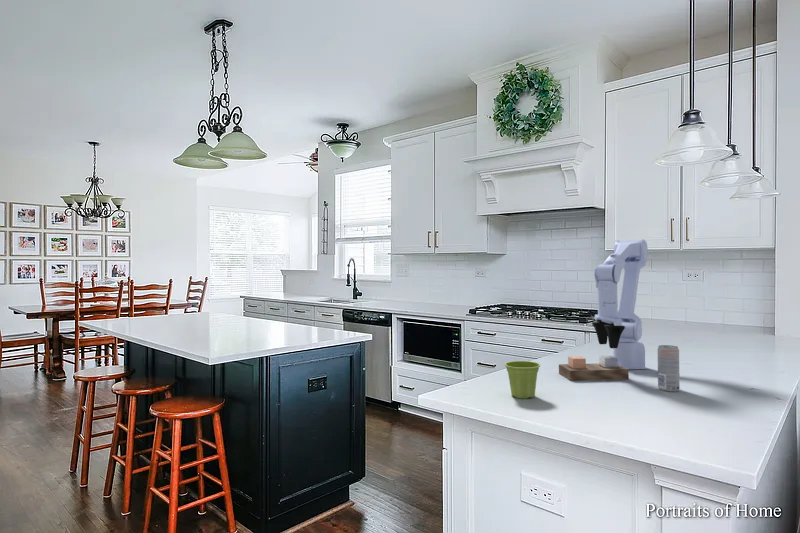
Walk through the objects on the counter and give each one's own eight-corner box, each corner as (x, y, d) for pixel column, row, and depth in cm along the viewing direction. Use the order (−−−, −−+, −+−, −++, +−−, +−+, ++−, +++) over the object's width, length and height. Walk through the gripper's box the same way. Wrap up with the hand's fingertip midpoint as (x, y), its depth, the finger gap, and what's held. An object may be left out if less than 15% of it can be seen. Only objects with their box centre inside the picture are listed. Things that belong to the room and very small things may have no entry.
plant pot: (502, 399, 137) (502, 366, 137) (507, 390, 146) (507, 359, 146) (539, 401, 134) (538, 368, 134) (542, 393, 143) (541, 361, 143)
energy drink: (674, 387, 147) (674, 345, 147) (682, 391, 142) (682, 348, 142) (654, 387, 148) (654, 345, 148) (662, 391, 142) (662, 348, 142)
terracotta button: (580, 365, 164) (580, 356, 164) (585, 368, 160) (585, 358, 160) (568, 366, 164) (568, 356, 164) (573, 368, 160) (572, 358, 160)
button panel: (613, 372, 168) (613, 363, 168) (628, 379, 158) (628, 369, 158) (558, 373, 167) (558, 364, 167) (570, 380, 157) (570, 370, 157)
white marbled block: (611, 365, 164) (611, 355, 164) (617, 367, 160) (617, 357, 160) (599, 365, 164) (599, 355, 164) (604, 367, 160) (604, 358, 160)
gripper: (585, 301, 169) (586, 342, 169) (605, 304, 155) (605, 350, 155) (607, 300, 170) (607, 342, 170) (628, 304, 155) (628, 349, 155)
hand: (608, 346), depth 162 cm, fingers open, 7 cm apart
